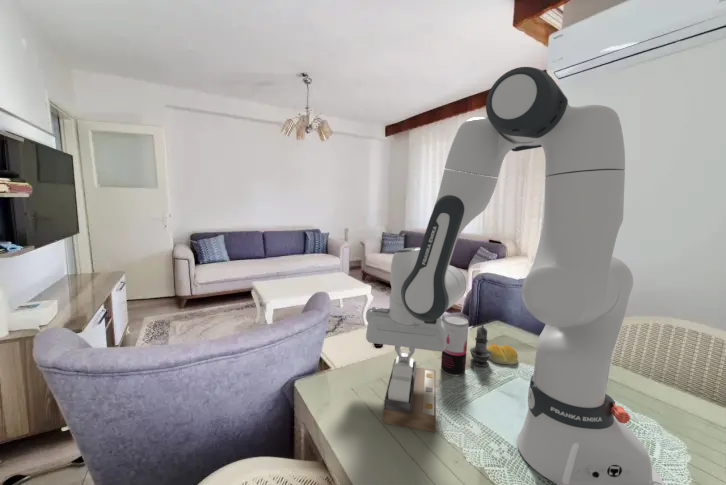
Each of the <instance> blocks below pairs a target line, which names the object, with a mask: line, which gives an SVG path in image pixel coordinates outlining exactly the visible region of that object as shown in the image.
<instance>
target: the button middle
mask: <svg viewBox="0 0 726 485" xmlns="http://www.w3.org/2000/svg"><path fill="white" fill-rule="evenodd" d="M392 379H396V380H403V381H410V386H411V380H412V367H404V366H397V365H394V369H393V373H392Z"/></svg>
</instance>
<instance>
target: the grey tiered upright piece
mask: <svg viewBox="0 0 726 485" xmlns="http://www.w3.org/2000/svg"><path fill="white" fill-rule="evenodd" d="M474 340H475V346H474V347H471V348H470V349H469V352H470V356H471V357H472V358H471V359H470V360H469V362H470V364H471V365H472V366H474V367H476V368H480V369H487V368H488V367H489V366H490V363H489V362H488V360H490V359H489V358H490V356H491V352H490V351H489V350H487V348H488V347H487V343H488V342H489V339H488V329H486V328H485V326H484V324H481V327H478V328H477V330H476V337H475V338H474Z"/></svg>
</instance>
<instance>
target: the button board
mask: <svg viewBox="0 0 726 485" xmlns="http://www.w3.org/2000/svg"><path fill="white" fill-rule="evenodd" d="M396 359H397V358H394V359H393V360H394V361H393V364H392V369H391V372H390V377H389V380H388V385H387V388H386V392H385V396H384V400H383V402H384V405H383V412H382V413H383V414H382V424H386V425H387V424H388V425H392V426H398V427H403V428H409V429H416V430H421V431H427V432H432V433H435V432H436V423H437V422H436V420H437V413H436V412H437V406H436V403H437V399H436V396H437V395H436V394H437V393H436V391H437V390H436V388H437V387H436V385H437V384H436V380H437V379H436V369H430V368H424V367H417V361H415V360H414V363H413V372H412V380H411V386H410V396H409V403H406V402H400V401H394V400H388V390H389V386H390V382H391V379H392V373H393V369H394V365H395V363H396Z"/></svg>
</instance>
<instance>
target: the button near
mask: <svg viewBox="0 0 726 485" xmlns="http://www.w3.org/2000/svg"><path fill="white" fill-rule="evenodd" d="M409 396H410V381H403V380H396V379H391V382H390V386H389V390H388V400H394V401H400V402H406V403H409Z"/></svg>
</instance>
